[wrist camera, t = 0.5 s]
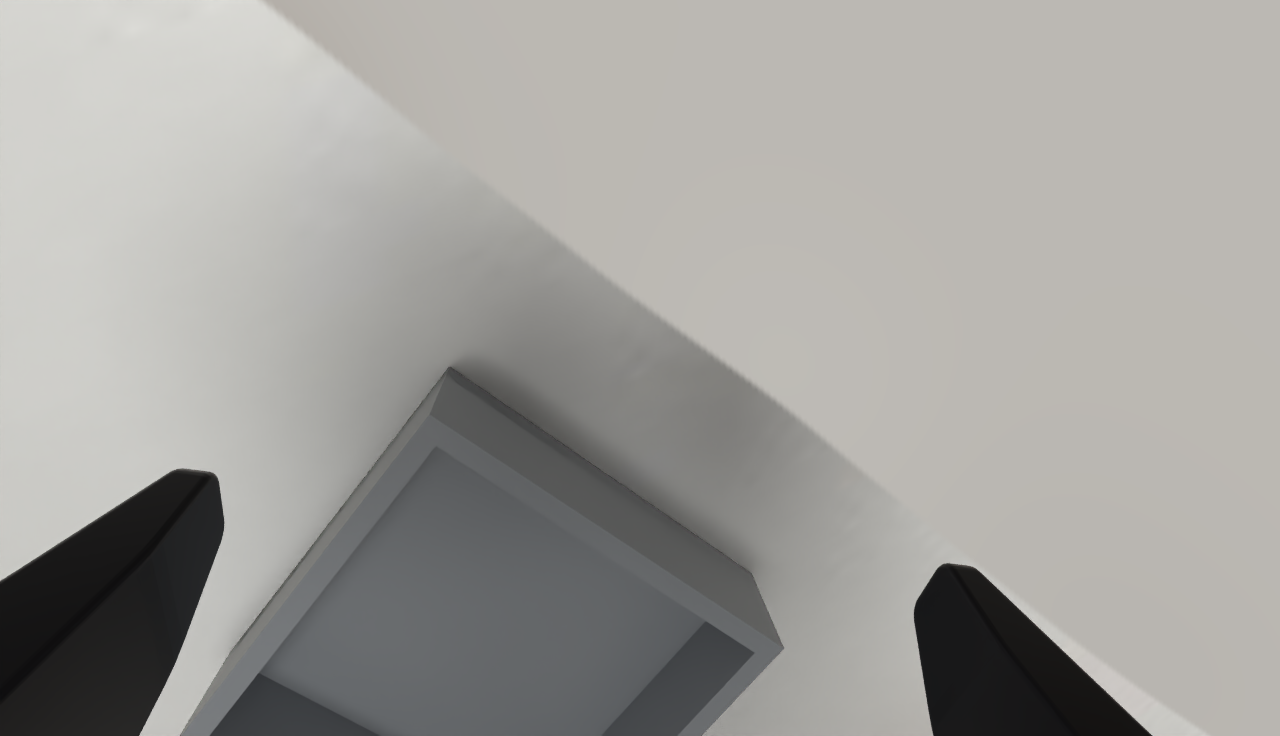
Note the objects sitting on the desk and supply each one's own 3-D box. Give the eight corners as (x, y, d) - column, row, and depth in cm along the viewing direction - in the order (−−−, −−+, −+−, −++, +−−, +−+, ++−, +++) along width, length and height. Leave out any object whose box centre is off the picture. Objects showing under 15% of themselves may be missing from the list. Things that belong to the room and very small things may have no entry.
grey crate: (534, 811, 33) (531, 915, 28) (229, 652, 29) (173, 745, 25) (751, 573, 30) (783, 648, 26) (449, 366, 26) (429, 414, 22)
